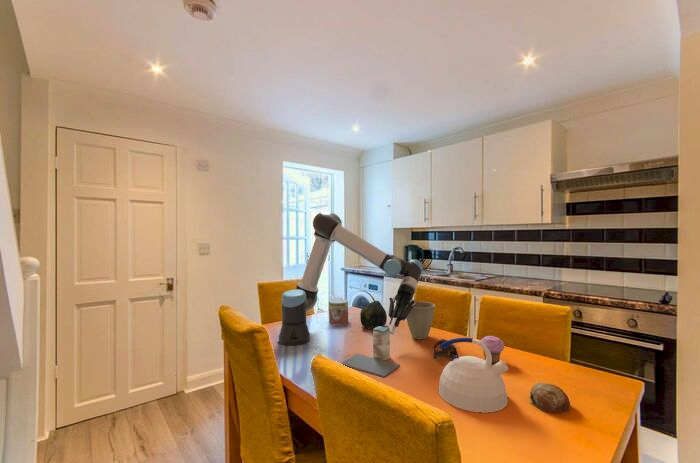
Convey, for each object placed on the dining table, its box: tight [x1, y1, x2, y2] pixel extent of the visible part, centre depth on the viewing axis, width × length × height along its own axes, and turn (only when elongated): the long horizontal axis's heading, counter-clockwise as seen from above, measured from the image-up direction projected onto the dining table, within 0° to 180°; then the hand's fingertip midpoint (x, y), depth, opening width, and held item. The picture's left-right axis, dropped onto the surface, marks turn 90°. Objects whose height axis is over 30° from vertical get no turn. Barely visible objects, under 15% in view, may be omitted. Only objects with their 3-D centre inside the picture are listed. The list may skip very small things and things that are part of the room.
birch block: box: [372, 326, 391, 361], centre depth 132 cm, size 5×5×12 cm
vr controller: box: [432, 338, 459, 358], centre depth 132 cm, size 12×10×8 cm
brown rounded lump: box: [529, 382, 571, 414], centre depth 95 cm, size 10×10×8 cm
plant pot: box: [405, 301, 436, 340], centre depth 157 cm, size 15×15×16 cm
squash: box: [359, 300, 388, 329], centre depth 175 cm, size 14×15×15 cm
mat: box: [340, 353, 401, 378], centre depth 125 cm, size 20×12×1 cm, turn 54°
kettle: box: [438, 337, 509, 414], centre depth 101 cm, size 20×21×18 cm
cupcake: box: [479, 335, 505, 364], centre depth 126 cm, size 9×9×10 cm
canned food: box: [328, 298, 349, 326], centre depth 186 cm, size 11×11×12 cm
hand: (390, 332), depth 138 cm, fingers closed
